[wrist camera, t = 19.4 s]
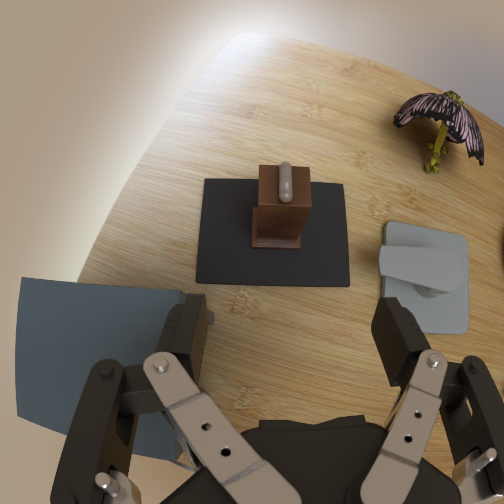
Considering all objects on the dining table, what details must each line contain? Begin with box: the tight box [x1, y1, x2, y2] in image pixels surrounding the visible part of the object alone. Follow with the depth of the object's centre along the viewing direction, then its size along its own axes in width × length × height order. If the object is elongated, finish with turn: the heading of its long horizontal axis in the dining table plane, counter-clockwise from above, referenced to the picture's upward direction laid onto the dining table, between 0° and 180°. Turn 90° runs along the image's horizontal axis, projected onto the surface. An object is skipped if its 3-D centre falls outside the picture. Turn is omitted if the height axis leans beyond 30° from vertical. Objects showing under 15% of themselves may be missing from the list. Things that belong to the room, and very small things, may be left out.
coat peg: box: [252, 162, 312, 250], centre depth 27 cm, size 5×4×11 cm
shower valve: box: [378, 221, 469, 335], centre depth 29 cm, size 12×6×15 cm
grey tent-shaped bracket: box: [15, 277, 214, 461], centre depth 22 cm, size 12×10×15 cm
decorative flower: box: [393, 91, 484, 173], centre depth 32 cm, size 14×12×15 cm
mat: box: [196, 179, 350, 287], centre depth 33 cm, size 16×12×1 cm
